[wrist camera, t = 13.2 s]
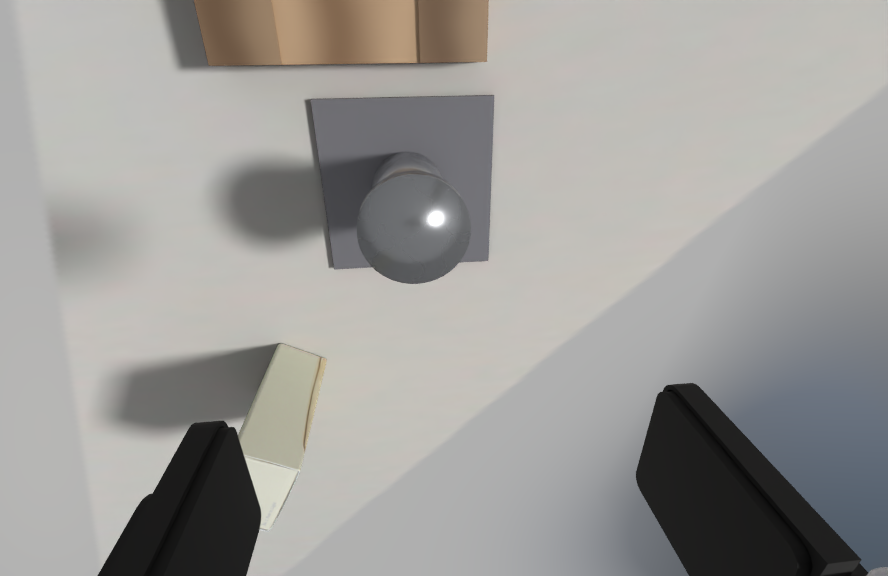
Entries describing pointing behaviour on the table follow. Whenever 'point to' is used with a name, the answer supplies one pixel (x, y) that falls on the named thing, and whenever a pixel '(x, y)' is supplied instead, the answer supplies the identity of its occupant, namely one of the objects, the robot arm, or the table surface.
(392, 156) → the grey light bulb
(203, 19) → the wooden square frame
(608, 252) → the table surface
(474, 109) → the mat
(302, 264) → the table surface
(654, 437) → the robot arm
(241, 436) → the skincare box
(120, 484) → the table surface
